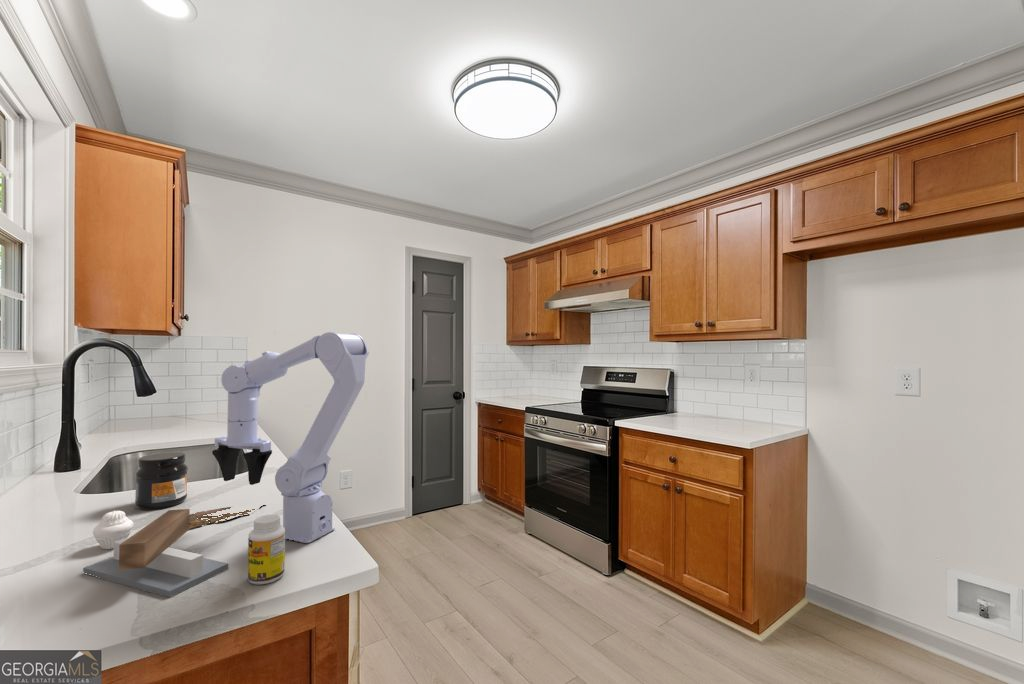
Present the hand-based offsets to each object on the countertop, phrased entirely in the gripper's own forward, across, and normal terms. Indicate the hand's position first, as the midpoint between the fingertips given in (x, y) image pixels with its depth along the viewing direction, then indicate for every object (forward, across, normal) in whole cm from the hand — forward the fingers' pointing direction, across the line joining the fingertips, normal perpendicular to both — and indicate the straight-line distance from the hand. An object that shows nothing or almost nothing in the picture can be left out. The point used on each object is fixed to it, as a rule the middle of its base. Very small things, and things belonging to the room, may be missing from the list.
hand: (241, 481), depth 101 cm
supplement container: (+10, +32, -4) cm, 34 cm away
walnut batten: (+6, -4, +20) cm, 21 cm away
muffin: (+10, +15, +16) cm, 24 cm away
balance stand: (+10, -4, +20) cm, 23 cm away
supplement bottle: (+10, -24, +15) cm, 30 cm away
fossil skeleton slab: (+10, +11, -2) cm, 15 cm away
